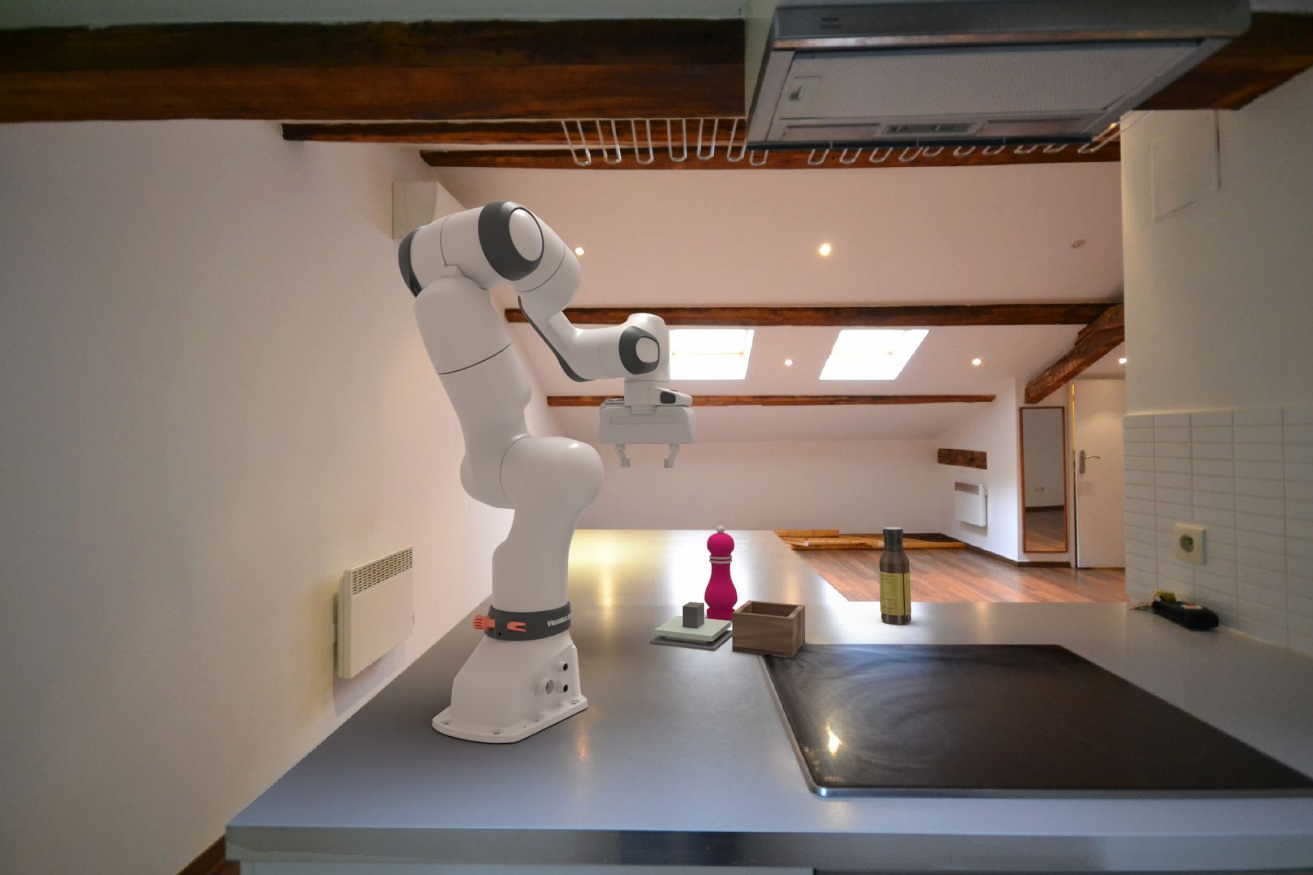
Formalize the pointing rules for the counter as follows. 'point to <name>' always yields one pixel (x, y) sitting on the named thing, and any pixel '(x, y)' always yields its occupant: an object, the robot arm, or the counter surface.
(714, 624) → the lid
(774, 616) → the box
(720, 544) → the pepper mill
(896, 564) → the sauce bottle
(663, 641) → the mat
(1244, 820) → the counter surface
